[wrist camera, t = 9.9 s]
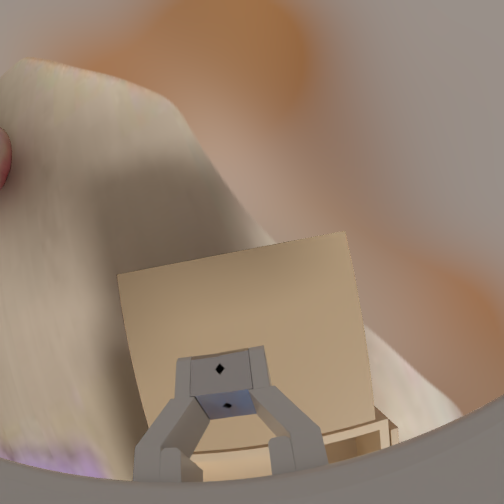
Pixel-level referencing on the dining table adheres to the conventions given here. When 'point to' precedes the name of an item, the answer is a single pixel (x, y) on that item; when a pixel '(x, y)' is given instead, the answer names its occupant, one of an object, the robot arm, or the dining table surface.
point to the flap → (255, 330)
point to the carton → (336, 445)
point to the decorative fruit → (4, 156)
